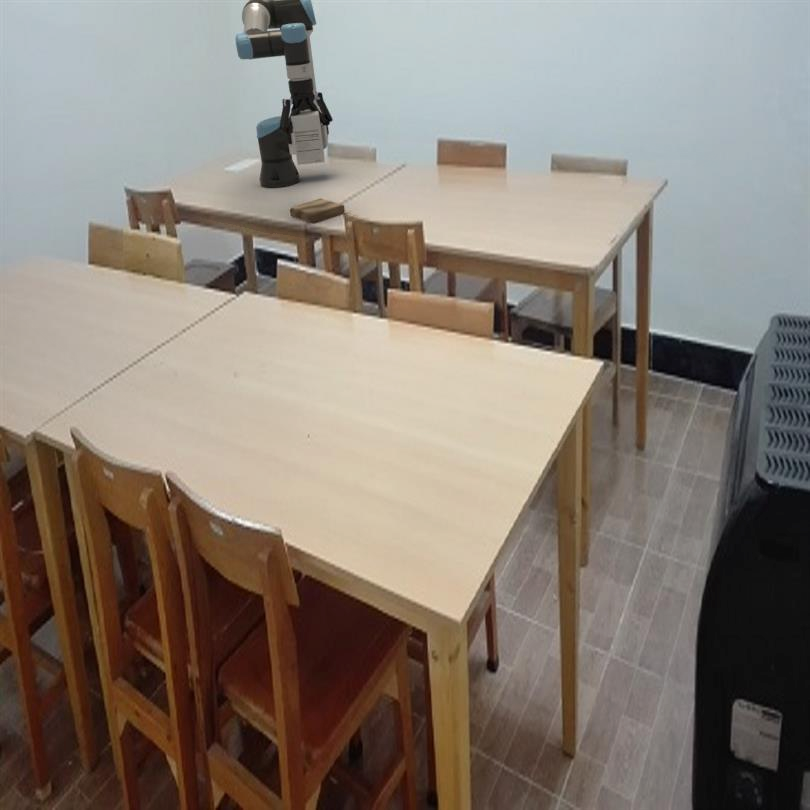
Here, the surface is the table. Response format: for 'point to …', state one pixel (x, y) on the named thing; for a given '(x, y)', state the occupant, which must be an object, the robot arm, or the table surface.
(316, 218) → the walnut base
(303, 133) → the supplement box
